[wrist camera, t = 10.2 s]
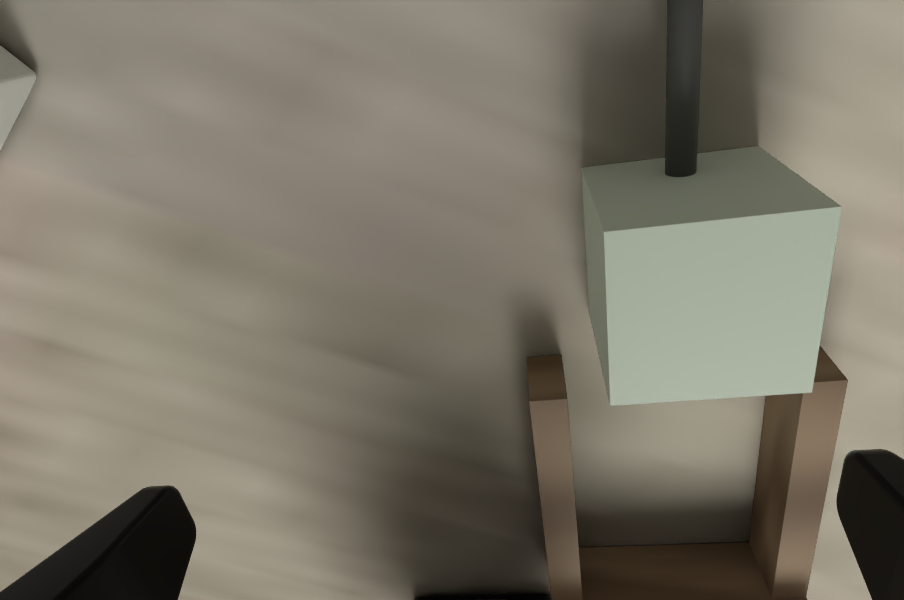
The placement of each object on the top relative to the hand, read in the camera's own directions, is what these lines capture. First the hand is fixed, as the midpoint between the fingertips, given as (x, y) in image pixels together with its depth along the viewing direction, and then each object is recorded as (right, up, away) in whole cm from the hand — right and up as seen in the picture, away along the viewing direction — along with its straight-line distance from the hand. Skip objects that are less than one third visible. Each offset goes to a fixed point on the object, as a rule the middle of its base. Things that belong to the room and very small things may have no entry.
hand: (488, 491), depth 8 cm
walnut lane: (+8, -4, +15) cm, 17 cm away
